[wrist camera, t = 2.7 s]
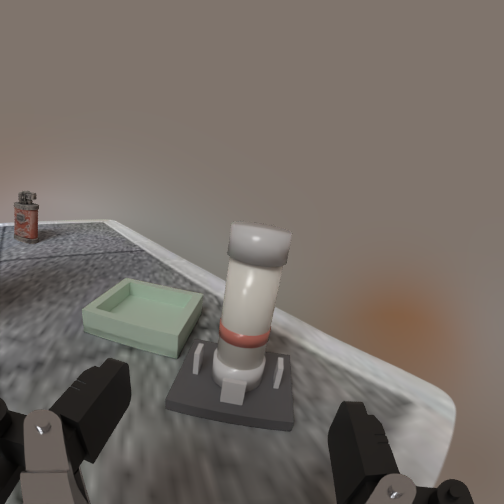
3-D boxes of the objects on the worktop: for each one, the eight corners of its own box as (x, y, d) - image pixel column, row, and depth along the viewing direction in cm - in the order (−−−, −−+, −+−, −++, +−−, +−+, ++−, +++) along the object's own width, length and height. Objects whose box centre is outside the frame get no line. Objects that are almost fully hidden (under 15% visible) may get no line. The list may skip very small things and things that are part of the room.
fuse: (207, 386, 20) (227, 227, 18) (216, 358, 24) (235, 219, 21) (259, 396, 20) (294, 238, 17) (262, 366, 24) (290, 228, 21)
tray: (84, 331, 25) (81, 309, 24) (126, 296, 35) (126, 277, 34) (177, 359, 25) (178, 335, 24) (201, 313, 34) (203, 294, 34)
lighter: (10, 238, 46) (11, 190, 44) (22, 235, 50) (22, 189, 47) (30, 244, 45) (30, 193, 43) (42, 241, 48) (43, 192, 46)
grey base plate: (165, 408, 18) (165, 378, 18) (194, 347, 27) (196, 320, 26) (290, 431, 18) (301, 402, 17) (287, 363, 27) (294, 337, 26)
